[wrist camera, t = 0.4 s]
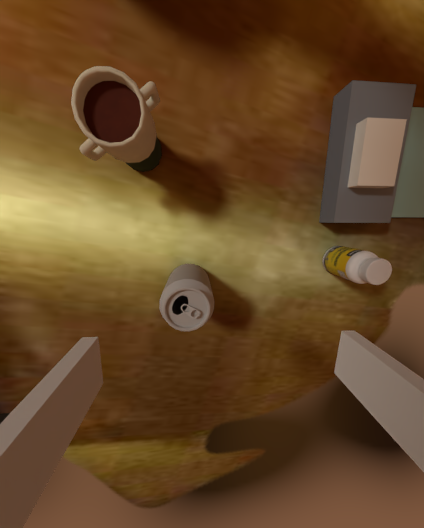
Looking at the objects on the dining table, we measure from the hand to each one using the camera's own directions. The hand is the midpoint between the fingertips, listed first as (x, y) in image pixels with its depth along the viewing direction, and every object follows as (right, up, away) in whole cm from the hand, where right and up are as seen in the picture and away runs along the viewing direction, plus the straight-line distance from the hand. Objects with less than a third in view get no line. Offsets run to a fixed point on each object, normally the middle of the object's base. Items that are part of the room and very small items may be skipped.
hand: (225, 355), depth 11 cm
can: (-5, +2, +27) cm, 27 cm away
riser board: (+24, +22, +24) cm, 41 cm away
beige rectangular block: (+24, +22, +21) cm, 38 cm away
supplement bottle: (+23, +6, +28) cm, 37 cm away
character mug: (-12, +23, +22) cm, 34 cm away
